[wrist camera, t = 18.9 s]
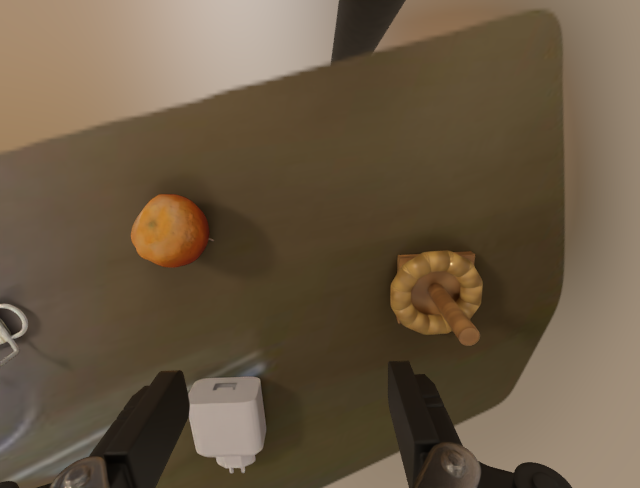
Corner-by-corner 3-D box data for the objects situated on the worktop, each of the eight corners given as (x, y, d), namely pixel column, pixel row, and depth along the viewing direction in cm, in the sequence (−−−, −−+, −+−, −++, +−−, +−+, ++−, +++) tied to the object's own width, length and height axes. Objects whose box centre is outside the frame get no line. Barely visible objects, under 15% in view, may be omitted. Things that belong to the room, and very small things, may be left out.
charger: (211, 457, 52) (196, 378, 47) (271, 456, 51) (261, 375, 47) (201, 488, 47) (182, 404, 42) (266, 486, 47) (254, 401, 42)
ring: (388, 251, 40) (392, 258, 37) (479, 245, 39) (489, 251, 37) (389, 329, 43) (393, 340, 41) (473, 324, 43) (482, 335, 40)
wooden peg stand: (397, 255, 41) (424, 296, 30) (470, 251, 41) (523, 292, 30) (396, 319, 44) (420, 377, 33) (465, 315, 44) (511, 373, 33)
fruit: (181, 282, 41) (129, 277, 33) (163, 226, 43) (110, 210, 35) (237, 252, 39) (196, 240, 32) (215, 196, 42) (171, 173, 34)
